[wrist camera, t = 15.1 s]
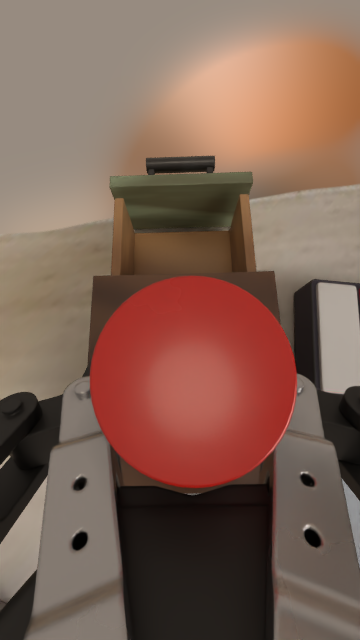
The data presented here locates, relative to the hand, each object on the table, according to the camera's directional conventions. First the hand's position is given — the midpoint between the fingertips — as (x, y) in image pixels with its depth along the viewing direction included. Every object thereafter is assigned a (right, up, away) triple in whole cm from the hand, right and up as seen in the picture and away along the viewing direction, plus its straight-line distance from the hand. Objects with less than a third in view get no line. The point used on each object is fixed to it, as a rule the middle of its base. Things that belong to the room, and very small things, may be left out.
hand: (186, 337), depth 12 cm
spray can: (0, -3, +5) cm, 6 cm away
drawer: (0, +8, +16) cm, 18 cm away
